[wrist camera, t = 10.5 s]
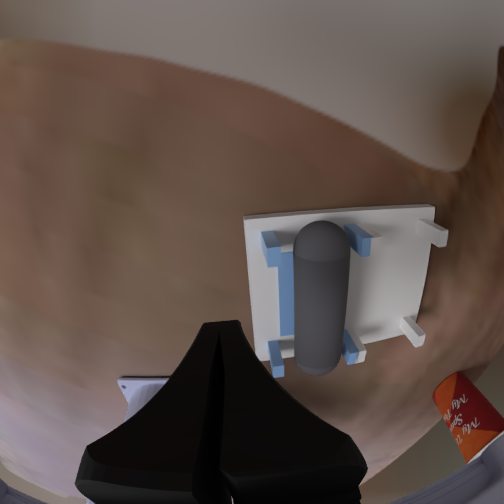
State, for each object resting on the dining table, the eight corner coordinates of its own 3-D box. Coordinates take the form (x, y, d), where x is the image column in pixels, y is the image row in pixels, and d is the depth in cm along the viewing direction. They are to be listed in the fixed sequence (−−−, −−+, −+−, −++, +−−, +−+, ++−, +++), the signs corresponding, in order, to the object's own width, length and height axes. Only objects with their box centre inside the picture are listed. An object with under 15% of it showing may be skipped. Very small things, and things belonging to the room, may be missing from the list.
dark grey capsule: (328, 350, 23) (345, 377, 20) (288, 359, 23) (301, 389, 20) (335, 211, 19) (362, 226, 16) (284, 217, 18) (304, 234, 15)
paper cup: (433, 379, 29) (485, 456, 16) (473, 358, 29) (526, 422, 16) (421, 412, 32) (460, 481, 19) (459, 392, 32) (501, 453, 19)
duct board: (408, 326, 25) (428, 350, 21) (255, 353, 24) (260, 387, 20) (428, 203, 20) (459, 217, 17) (243, 215, 20) (247, 234, 16)
